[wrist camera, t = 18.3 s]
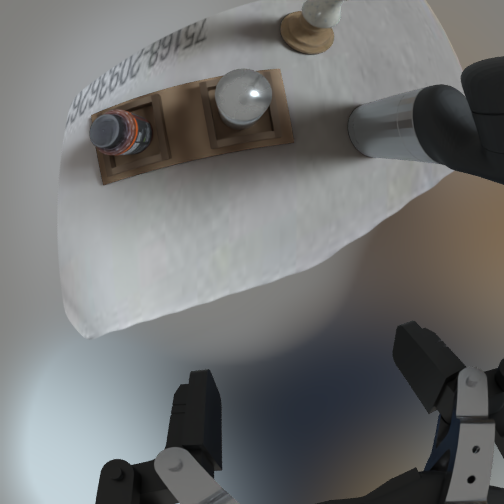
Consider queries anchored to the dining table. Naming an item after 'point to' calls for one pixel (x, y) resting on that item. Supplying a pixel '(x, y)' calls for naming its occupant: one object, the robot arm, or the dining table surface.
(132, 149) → the supplement bottle
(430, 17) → the dining table surface
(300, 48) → the candle holder
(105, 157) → the wooden divided tray
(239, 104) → the can
